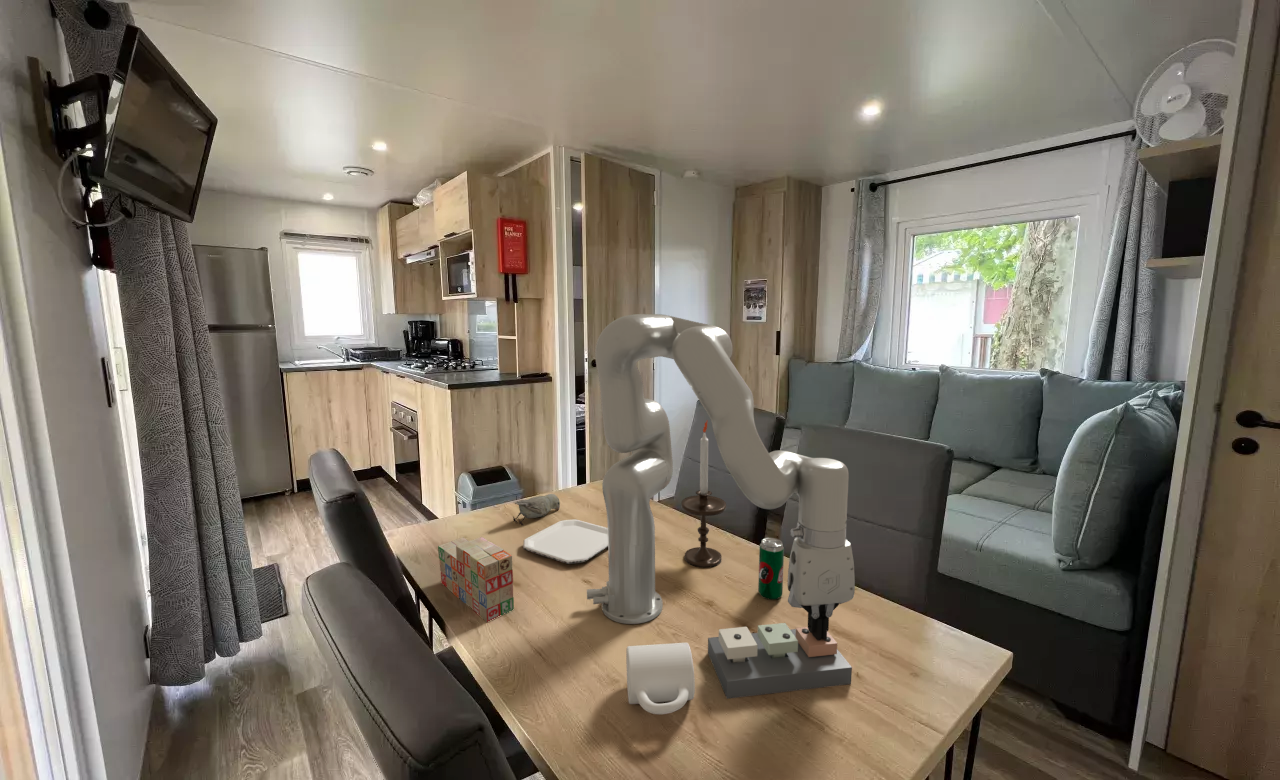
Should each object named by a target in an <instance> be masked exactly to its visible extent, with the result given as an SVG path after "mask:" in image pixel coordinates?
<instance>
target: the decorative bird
mask: <svg viewBox="0 0 1280 780" xmlns="http://www.w3.org/2000/svg"><path fill="white" fill-rule="evenodd" d="M513 503H514V504H515V505H518V509H519V512H518V515H517V516H516V518H515V516H512V517H513V518H512V519H513V522H515V523H516V524H518V523H519V524H518V525H521V526H522V527H523V528H524V524H523V523H522V522H524V520H525V519H536V518H540V517H544V516H546V515H547V514H548V513H549V512H550V511H552V510H556V511H559V510H560V506H561V502H560V499H559V497H558V495H556V494H555V493H549V494H546V495H539V496H534V497H530V498H528V499H520V500H518V501H513ZM520 515H522V516H523V518H522V519H520V518H519V517H520ZM517 519H518V521H517Z"/></svg>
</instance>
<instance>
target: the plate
mask: <svg viewBox="0 0 1280 780" xmlns="http://www.w3.org/2000/svg"><path fill="white" fill-rule="evenodd" d="M604 549H605V550H606V549H608V527H606V526H602V525H598V524H594V523H591V522H587V521H583V520H579V519H576V518H575V519H564V520H559V521H558V522H555V523H553V524H551V525H550V526H548V527H546V528H543V529H542V530H540V531H538V532H536V533H534V534H532V535H531V536H528V537H526V538H525V539H524V540H523V550H526V551H529V552H531V553H533V554H537V555H540V556H543V557H545V558H548V559H552V560H554V561H557V562H561V563H563V564H566V565H573V564H574V565H575V564H581V563H585V562H587V561H588V560H589V559H591V558H594V556H596V555H597V554H599V553H601V552H602V551H603V550H604Z"/></svg>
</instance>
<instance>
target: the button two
mask: <svg viewBox="0 0 1280 780" xmlns="http://www.w3.org/2000/svg"><path fill="white" fill-rule="evenodd" d="M757 633H758V638H759V639H760V641H761V643H762V644H763V646H764V648H765V649H766V651H767V653H768V654H769V655H770V656H771V658H772V659H773V658H782V657H785V653H792V652H798V640H797V639H796V637H795V636H794V634H793V633H792V632H791V628H789V625H788V624H787V623H786V622H780V623H771V624H760V625H757Z"/></svg>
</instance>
